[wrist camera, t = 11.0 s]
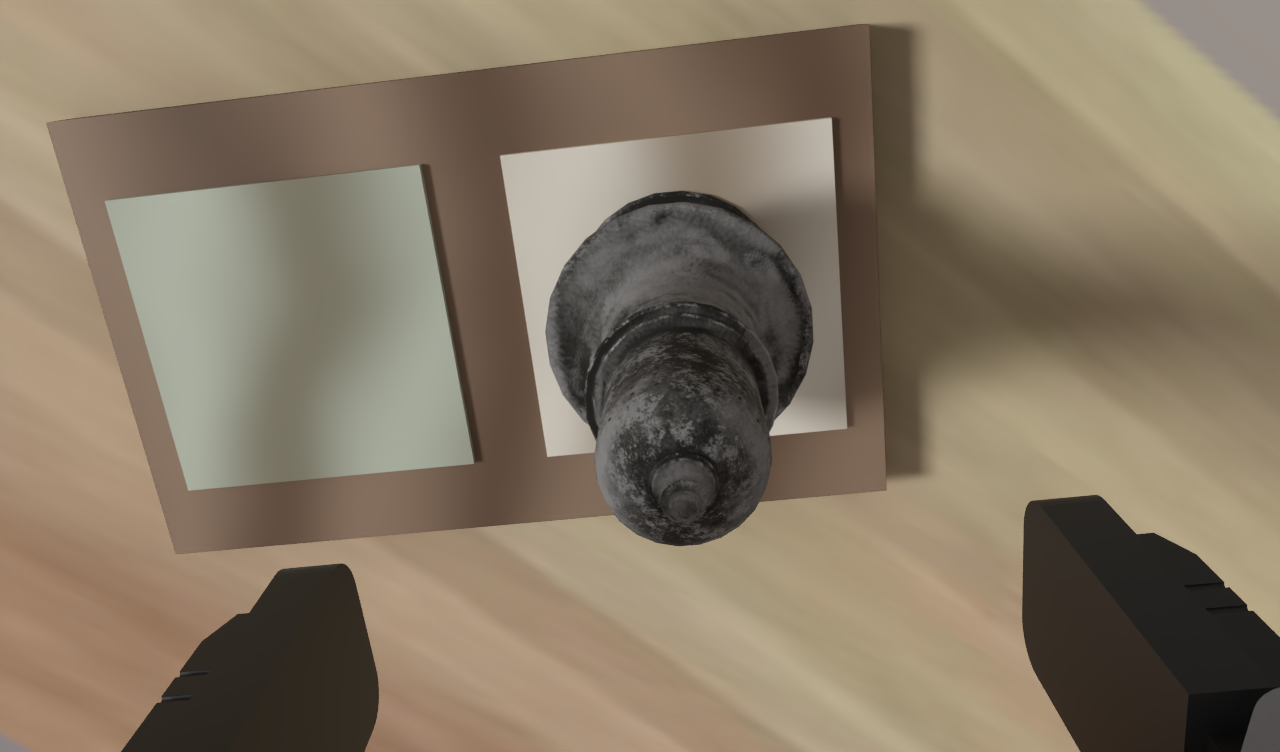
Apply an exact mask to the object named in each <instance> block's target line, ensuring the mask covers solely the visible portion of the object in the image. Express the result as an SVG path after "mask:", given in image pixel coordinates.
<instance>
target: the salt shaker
mask: <svg viewBox="0 0 1280 752" xmlns="http://www.w3.org/2000/svg"><path fill="white" fill-rule="evenodd" d="M545 334H546V341H547V348H548V356H549V363H550V366H551V369H552V371H553V373H554V376H555V378H556V380H557V383H558V385H559V387H560V390H561V392H562V394H563V396H564V397H565V399H566V400H567V401H568V402H569V404H570V405H571V406H572V407H573V409H574V410H575V411H576V413H577V414H578V415H579V416H580V418H581V419H582V420H583V421H584V422H585V423H586V424H588V425H589V426H590V429H591V431H592V434H593V436H594V438H595V441H596V447H595V453H594V462H595V471H596V479H597V481H598V484H599V487H600V489H601V492H602V494H603V496H604V499H605V501H606V504H607V506H608V507H609V508H610V509H611V511H612V512H613V513H614V515H615V516H616V517H617V518H618V520H619V521H620V522H621V523H623V524H624V525H625V526H626V527H628V528H629V529H630V530H632V531H633V532H634V533H636V534H637V535H639V536H642V537H644V538H647V539H649V540H651V541H654V542H656V543H661V544H668V545H674V546H687V545H699V544H703V543H706V542H709V541H712V540H715V539H718V538H721V537H723V536H724V535H726V534H728V533H729V532H731V531H732V530H734V529H735V528H737V527H739V526H740V525H741V524H742V523H743V522H744V521H745V520H746V519H747V518H748V517H749V516H750V514H751V513H752V512H753V511H754V510H755V509H756V507H757V505H758V503H759V501H760V499H761V498H762V496H763V494H764V492H765V490H766V486H767V483H768V479H769V474H770V470H771V466H772V450H771V439H770V434H769V432H770V431H771V429H772V427H773V424H774V421H775V419H776V418H777V417H778V416H779V415H780V414H781V413H782V412H783V411H784V410H785V409H786V408H787V407H788V406H789V405H790V403H791V401H792V399H793V398H794V396H795V394H796V392H797V390H798V388H799V386H800V385H801V383H802V381H803V379H804V377H805V375H806V372H807V368H808V364H809V359H810V355H811V351H812V346H813V342H814V340H813V318H812V306H811V303H810V300H809V297H808V294H807V291H806V288H805V285H804V282H803V279H802V276H801V274H800V273H799V271H798V270H797V268H796V267H795V265H794V264H793V262H792V261H791V259H790V258H789V257H788V255H787V254H786V252H785V251H784V249H783V248H782V246H781V245H780V244H779V243H777V242H776V241H775V240H774V239H773V238H771V237H770V236H769V235H768V234H767V233H765V232H764V231H763V230H762V229H761V228H760V227H758V225H757V224H756V223H754V222H753V221H752V220H751V219H750V218H748V217H747V216H746V215H745V214H744V213H742V212H741V211H740V210H739V209H738V208H737V207H735V206H733V205H731V204H728V203H726V202H724V201H722V200H720V199H718V198H715V197H713V196H711V195H706V194H700V193H694V192H689V191H672V192H662V193H654V194H651V195H648V196H646V197H643V198H640V199H638V200H635V201H632V202H630V203H627V204H626V205H625V206H623V207H622V208H621V209H619V210H618V211H616V212H615V213H614V214H612V215H611V216H609V217H608V218H607V219H605V220H604V222H603V223H602V224H601V225H600V227H599V228H598V229H597V230H596V232H594V233H593V234H592V235H590V236H589V237H587V238H586V239H585V240H584V242H583V243H582V244H581V245H580V247H579V248H578V249H577V250H576V251H575V253H574V254H573V255H572V256H571V258H570V259H569V260H568V261H567V263H566V264H565V265H564V267H563V269H562V271H561V274H560V276H559V278H558V281H557V283H556V285H555V287H554V290H553V292H552V294H551V297H550V301H549V308H548V315H547V322H546V330H545Z"/></svg>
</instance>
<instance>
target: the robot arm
mask: <svg viewBox="0 0 1280 752" xmlns="http://www.w3.org/2000/svg"><path fill="white" fill-rule="evenodd" d="M1022 622H1023V632H1024V638H1025V644H1026V648H1027V652H1028V656H1029V659H1030V662H1031V665H1032V667H1033V669H1034V671H1035V673H1036V675H1037V677H1038V679H1039V681H1040V682H1041V684H1042V686H1043V688H1044V689H1045V691H1046V693H1047V694H1048V696H1049V698H1050V700H1051V701H1052V703H1053V705H1054V707H1055V708H1056V710H1057V712H1058V714H1059V715H1060V717H1061V719H1062V720H1063V722H1064V724H1065V726H1066V727H1067V729H1068V731H1069V733H1070V734H1071V736H1072V738H1073V740H1074V741H1075V743H1076V745H1077V746H1078V748H1079V750H1080V752H1280V637H1279V636H1278V635H1277V634H1276V633H1275V632H1274V631H1273V630H1272V629H1271V628H1270V627H1269V626H1268V625H1267V624H1266V623H1265V622H1264V621H1263V620H1262V619H1261V618H1260V617H1259V616H1258V615H1257V614H1256V613H1255V612H1254V611H1248V609H1247V604H1246V603H1245V602H1244V601H1243V600H1242V599H1241V598H1240V597H1239V596H1237V595H1236V594H1235V593H1234V592H1233V591H1232V590H1231V589H1230V588H1225V586H1224V582H1223V581H1222V580H1221V579H1220V578H1219V577H1218V576H1217V575H1216V574H1215V573H1214V572H1213V571H1212V570H1211V569H1210V568H1209V567H1208V566H1207V565H1206V564H1205V563H1204V562H1203V561H1202V560H1201V559H1200V558H1199V557H1198V556H1197V555H1196V554H1194V553H1192V552H1190V551H1188V550H1186V549H1184V548H1183V547H1181V546H1179V545H1177V544H1175V543H1173V542H1171V541H1169V540H1167V539H1165V538H1163V537H1161V536H1159V535H1157V534H1155V533H1147V534H1136V533H1135V532H1134V531H1133V530H1132V529H1131V528H1130V527H1129V526H1128V525H1127V524H1126V523H1125V522H1124V520H1123V519H1122V518H1121V517H1120V516H1119V515H1118V514H1117V513H1116V512H1115V511H1114V510H1113V509H1112V508H1111V506H1110V505H1109V504H1108V503H1107V502H1106V501H1105V500H1104V499H1103V498H1102V497H1100V496H1098V495H1090V496H1079V497H1069V498H1058V499H1047V500H1036V501H1031V502H1029V504H1028V505H1027V507H1026V511H1025V516H1024V546H1023V604H1022ZM378 703H379V686H378V677H377V671H376V666H375V662H374V658H373V654H372V650H371V646H370V641H369V637H368V633H367V629H366V625H365V621H364V617H363V612H362V608H361V604H360V600H359V596H358V592H357V587H356V583H355V580H354V577H353V574H352V572H351V570H350V569H349V568H348V566H346V565H345V564H331V565H321V566H310V567H299V568H288V569H282V570H280V571H279V572H278V573H277V574H276V575H275V576H274V578H273V579H272V581H271V582H270V584H269V585H268V587H267V588H266V589H265V591H264V592H263V594H262V595H261V597H260V598H259V600H258V601H257V603H256V604H255V605H254V607H253V608H252V610H251V611H250V613H246V614H237V615H236V616H235V617H233V618H232V619H231V620H229V621H228V622H227V623H226V624H224V625H223V626H222V627H220V628H219V629H218V630H216V631H215V632H214V633H212V634H211V635H210V636H208V637H207V638H206V639H204V640H203V641H202V642H201V643H200V645H199V646H198V647H197V649H196V650H195V651H194V653H193V654H192V656H191V657H190V658H189V660H188V661H187V662H186V664H185V665H184V667H183V668H182V669H181V671H180V677H176V678H175V679H174V680H173V682H172V683H171V684H170V686H169V687H168V688H167V690H166V691H165V692H164V694H163V695H162V702H161V703H156V705H155V706H154V708H153V709H152V710H151V712H150V713H149V714H148V716H147V717H146V718H145V720H144V721H143V723H142V724H141V725H140V727H139V728H138V729H137V731H136V732H135V733H134V735H133V736H132V738H131V739H130V740H129V742H128V743H127V744H126V746H125V747H124V748H123V750H122V751H121V752H364V751H365V749H366V746H367V744H368V741H369V739H370V736H371V734H372V731H373V729H374V726H375V722H376V718H377V712H378Z"/></svg>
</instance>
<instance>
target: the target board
mask: <svg viewBox="0 0 1280 752" xmlns="http://www.w3.org/2000/svg"><path fill="white" fill-rule="evenodd" d="M46 124H47V127H48V130H49V134H50V137H51V140H52V144H53V147H54V150H55V154H56V157H57V160H58V164H59V167H60V170H61V174H62V177H63V180H64V184H65V187H66V190H67V194H68V197H69V200H70V204H71V207H72V210H73V214H74V217H75V220H76V224H77V227H78V230H79V234H80V237H81V240H82V244H83V247H84V250H85V253H86V257H87V260H88V263H89V267H90V270H91V273H92V277H93V280H94V283H95V287H96V290H97V293H98V297H99V300H100V303H101V307H102V310H103V313H104V317H105V320H106V323H107V327H108V330H109V333H110V337H111V340H112V343H113V347H114V350H115V353H116V357H117V360H118V363H119V367H120V370H121V373H122V377H123V380H124V383H125V387H126V390H127V393H128V397H129V400H130V403H131V407H132V410H133V413H134V417H135V420H136V423H137V426H138V430H139V433H140V436H141V440H142V443H143V446H144V450H145V453H146V456H147V460H148V463H149V466H150V470H151V473H152V476H153V480H154V483H155V486H156V490H157V493H158V496H159V500H160V503H161V506H162V510H163V513H164V516H165V520H166V523H167V526H168V530H169V533H170V536H171V540H172V543H173V546H174V550H175V553H176V554H185V553H196V552H207V551H219V550H230V549H241V548H252V547H263V546H274V545H285V544H296V543H308V542H319V541H330V540H341V539H352V538H363V537H374V536H385V535H396V534H408V533H419V532H430V531H441V530H452V529H463V528H474V527H485V526H497V525H508V524H519V523H530V522H541V521H552V520H563V519H574V518H585V517H597V516H608V515H614V513H613V512H612V511H611V509H610V508H609V507H608V506H607V504H606V501H605V499H604V496H603V494H602V492H601V489H600V487H599V484H598V481H597V479H596V471H595V462H594V453H595V447H596V441H595V438H594V436H593V434H592V431H591V429H590V426H589V425H588V424H586V423H585V422H584V421H583V420H582V419H581V418H580V416H579V415H578V414H577V413H576V411H575V410H574V409H573V407H572V406H571V405H570V404H569V402H568V401H567V400H566V399H565V397H564V396H563V394H562V392H561V390H560V387H559V385H558V383H557V380H556V378H555V376H554V373H553V371H552V369H551V366H550V363H549V356H548V348H547V341H546V334H545V330H546V322H547V315H548V308H549V301H550V297H551V294H552V292H553V290H554V287H555V285H556V283H557V281H558V278H559V276H560V274H561V271H562V269H563V267H564V265H565V264H566V263H567V261H568V260H569V259H570V258H571V256H572V255H573V254H574V253H575V251H576V250H577V249H578V248H579V247H580V245H581V244H582V243H583V242H584V240H585V239H586V238H587V237H589V236H590V235H592V234H593V233H594V232H596V230H597V229H598V228H599V227H600V225H601V224H602V223H603V222H604V220H605V219H607V218H608V217H609V216H611V215H612V214H614V213H615V212H616V211H618V210H619V209H621V208H622V207H623V206H625V205H626V204H627V203H630V202H632V201H635V200H638V199H640V198H643V197H646V196H648V195H651V194H654V193H662V192H672V191H689V192H694V193H700V194H706V195H711V196H713V197H715V198H718V199H720V200H722V201H724V202H726V203H728V204H731V205H733V206H735V207H737V208H738V209H739V210H740V211H741V212H742V213H744V214H745V215H746V216H747V217H748V218H750V219H751V220H752V221H753V222H754V223H756V224H757V225H758V227H760V228H761V229H762V230H763V231H764V232H765V233H767V234H768V235H769V236H770V237H771V238H773V239H774V240H775V241H776V242H777V243H779V244H780V245H781V246H782V248H783V249H784V251H785V252H786V254H787V255H788V257H789V258H790V259H791V261H792V262H793V264H794V265H795V267H796V268H797V270H798V271H799V273H800V274H801V276H802V279H803V282H804V285H805V288H806V291H807V294H808V297H809V300H810V303H811V306H812V318H813V340H814V342H813V346H812V351H811V355H810V359H809V364H808V368H807V372H806V375H805V377H804V379H803V381H802V383H801V385H800V386H799V388H798V390H797V392H796V394H795V396H794V398H793V399H792V401H791V403H790V405H789V406H788V407H787V408H786V409H785V410H784V411H783V412H782V413H781V414H780V415H779V416H778V417H777V418H776V419H775V421H774V424H773V427H772V429H771V431H770V432H769V434H770V439H771V450H772V466H771V470H770V474H769V479H768V483H767V486H766V490H765V492H764V494H763V496H762V498H761V499H760V501H759V502H763V501H774V500H786V499H797V498H808V497H819V496H830V495H841V494H852V493H863V492H874V491H886V490H887V489H886V462H885V435H884V408H883V381H882V354H881V327H880V300H879V273H878V246H877V219H876V192H875V165H874V138H873V111H872V84H871V57H870V30H869V24H858V25H849V26H841V27H833V28H824V29H816V30H808V31H799V32H791V33H783V34H774V35H766V36H758V37H749V38H741V39H733V40H724V41H716V42H708V43H699V44H691V45H683V46H674V47H666V48H658V49H649V50H641V51H633V52H624V53H616V54H607V55H599V56H591V57H582V58H574V59H566V60H557V61H549V62H541V63H532V64H524V65H516V66H507V67H499V68H491V69H482V70H474V71H466V72H457V73H449V74H441V75H432V76H424V77H416V78H407V79H399V80H391V81H382V82H374V83H366V84H357V85H349V86H340V87H332V88H324V89H315V90H307V91H299V92H290V93H282V94H274V95H265V96H257V97H249V98H240V99H232V100H224V101H215V102H207V103H199V104H190V105H182V106H174V107H165V108H157V109H149V110H140V111H132V112H124V113H115V114H107V115H98V116H90V117H82V118H74V119H67V120H60V121H54V122H47V123H46Z"/></svg>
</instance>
